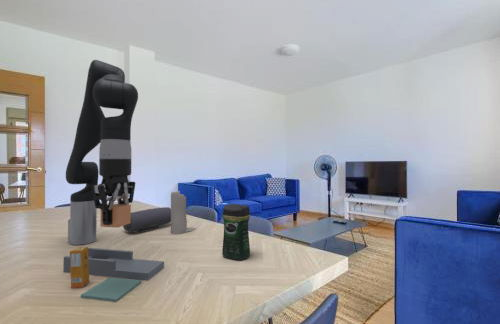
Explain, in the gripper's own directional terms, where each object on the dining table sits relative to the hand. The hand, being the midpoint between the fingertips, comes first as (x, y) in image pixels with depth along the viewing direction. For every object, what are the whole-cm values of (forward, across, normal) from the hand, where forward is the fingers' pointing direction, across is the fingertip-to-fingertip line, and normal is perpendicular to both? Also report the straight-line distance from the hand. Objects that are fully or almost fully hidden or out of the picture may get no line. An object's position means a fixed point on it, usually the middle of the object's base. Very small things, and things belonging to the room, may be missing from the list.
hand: (115, 221), depth 68 cm
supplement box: (+18, 0, +11) cm, 21 cm away
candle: (+18, +58, +7) cm, 61 cm away
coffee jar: (+18, +30, -26) cm, 43 cm away
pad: (+18, 0, 0) cm, 18 cm away
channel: (+18, +11, +9) cm, 23 cm away
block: (+1, 0, 0) cm, 1 cm away
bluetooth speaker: (+18, +57, +25) cm, 65 cm away
